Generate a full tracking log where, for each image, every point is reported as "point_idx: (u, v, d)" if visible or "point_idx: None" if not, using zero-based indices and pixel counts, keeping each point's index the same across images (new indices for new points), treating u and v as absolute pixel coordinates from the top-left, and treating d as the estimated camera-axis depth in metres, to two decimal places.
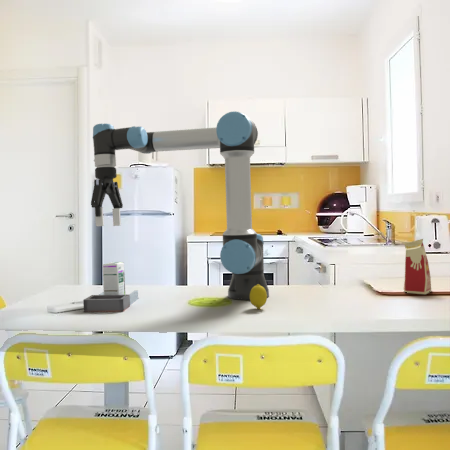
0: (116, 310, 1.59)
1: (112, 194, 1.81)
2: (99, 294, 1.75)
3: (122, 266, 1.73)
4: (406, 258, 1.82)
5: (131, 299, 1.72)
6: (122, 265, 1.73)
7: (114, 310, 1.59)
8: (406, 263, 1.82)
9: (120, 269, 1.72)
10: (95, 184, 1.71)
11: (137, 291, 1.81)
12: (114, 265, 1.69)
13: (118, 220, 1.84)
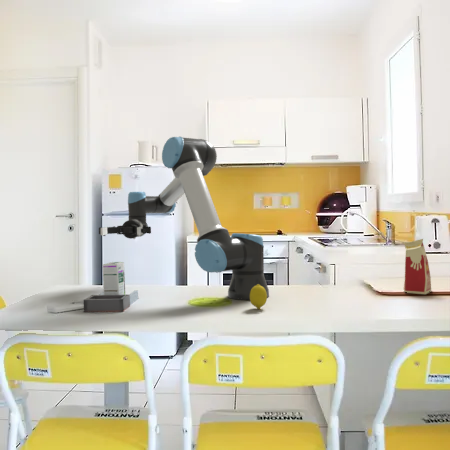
0: (116, 310, 1.59)
1: (135, 228, 1.93)
2: (99, 294, 1.75)
3: (122, 266, 1.73)
4: (406, 258, 1.82)
5: (131, 299, 1.72)
6: (122, 265, 1.73)
7: (114, 310, 1.59)
8: (406, 263, 1.82)
9: (120, 269, 1.72)
10: None
11: (137, 291, 1.81)
12: (114, 265, 1.69)
13: None
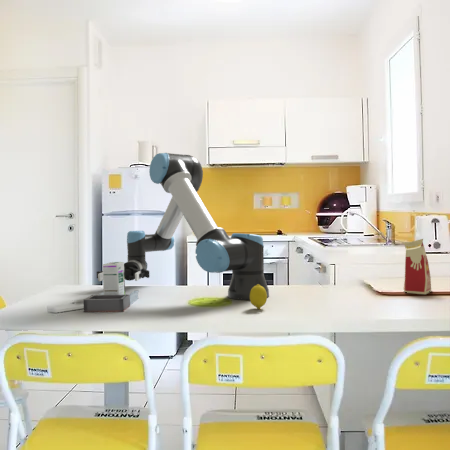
0: (116, 310, 1.59)
1: (133, 271, 1.90)
2: (99, 294, 1.75)
3: (122, 266, 1.73)
4: (406, 258, 1.82)
5: (131, 299, 1.72)
6: (122, 265, 1.73)
7: (114, 310, 1.59)
8: (406, 263, 1.82)
9: (120, 269, 1.72)
10: None
11: (137, 291, 1.81)
12: (114, 265, 1.69)
13: None
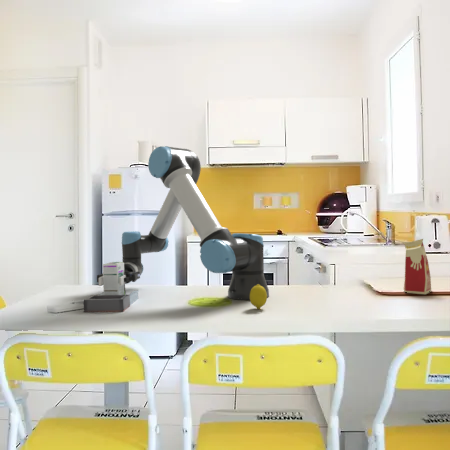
0: (116, 310, 1.59)
1: (124, 274, 1.80)
2: (99, 294, 1.75)
3: (122, 266, 1.73)
4: (406, 258, 1.82)
5: (131, 299, 1.72)
6: (122, 265, 1.73)
7: (114, 310, 1.59)
8: (406, 263, 1.82)
9: (121, 269, 1.72)
10: None
11: (137, 291, 1.81)
12: (114, 265, 1.69)
13: None
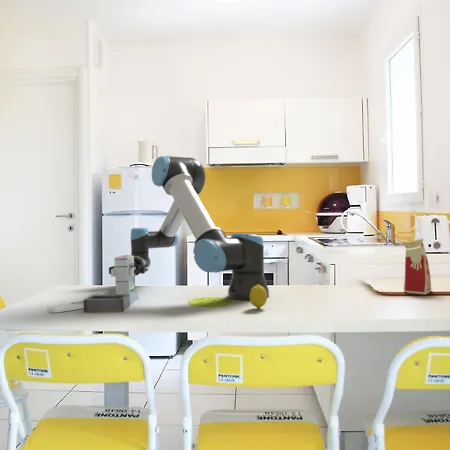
0: (116, 310, 1.59)
1: (134, 267, 1.96)
2: (99, 294, 1.75)
3: (132, 259, 1.89)
4: (406, 258, 1.82)
5: (131, 299, 1.72)
6: (132, 258, 1.89)
7: (114, 310, 1.59)
8: (406, 263, 1.82)
9: (131, 262, 1.87)
10: None
11: (137, 291, 1.81)
12: (125, 258, 1.85)
13: None
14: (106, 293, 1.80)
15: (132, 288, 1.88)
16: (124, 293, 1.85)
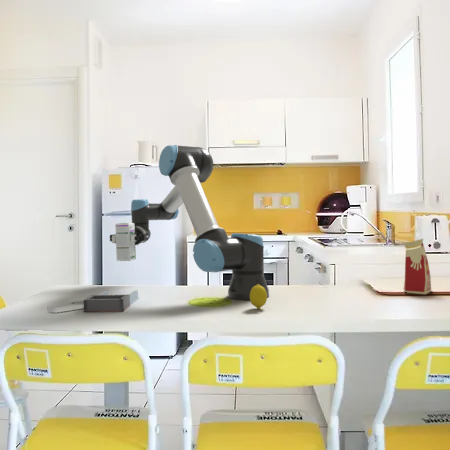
0: (116, 310, 1.59)
1: None
2: (99, 294, 1.75)
3: (133, 226, 1.92)
4: (406, 258, 1.82)
5: (131, 299, 1.72)
6: (133, 225, 1.92)
7: (114, 310, 1.59)
8: (406, 263, 1.82)
9: (131, 229, 1.90)
10: None
11: (137, 291, 1.81)
12: (126, 224, 1.88)
13: None
14: (106, 293, 1.80)
15: (133, 254, 1.91)
16: (125, 259, 1.88)
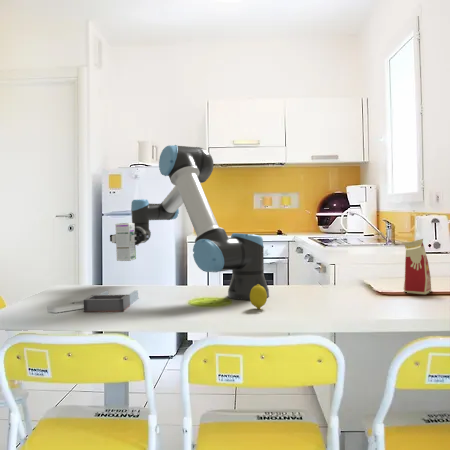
0: (116, 310, 1.59)
1: None
2: (99, 294, 1.75)
3: (133, 226, 1.92)
4: (406, 258, 1.82)
5: (131, 299, 1.72)
6: (133, 225, 1.92)
7: (114, 310, 1.59)
8: (406, 263, 1.82)
9: (131, 229, 1.90)
10: None
11: (137, 291, 1.81)
12: (126, 224, 1.88)
13: None
14: (106, 293, 1.80)
15: (133, 254, 1.91)
16: (125, 259, 1.88)
